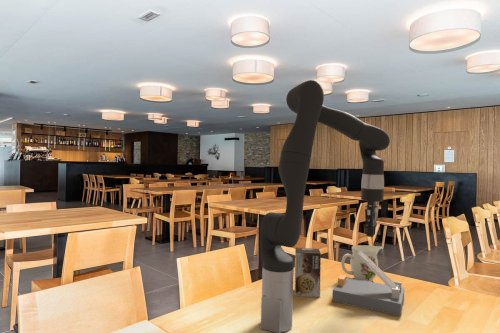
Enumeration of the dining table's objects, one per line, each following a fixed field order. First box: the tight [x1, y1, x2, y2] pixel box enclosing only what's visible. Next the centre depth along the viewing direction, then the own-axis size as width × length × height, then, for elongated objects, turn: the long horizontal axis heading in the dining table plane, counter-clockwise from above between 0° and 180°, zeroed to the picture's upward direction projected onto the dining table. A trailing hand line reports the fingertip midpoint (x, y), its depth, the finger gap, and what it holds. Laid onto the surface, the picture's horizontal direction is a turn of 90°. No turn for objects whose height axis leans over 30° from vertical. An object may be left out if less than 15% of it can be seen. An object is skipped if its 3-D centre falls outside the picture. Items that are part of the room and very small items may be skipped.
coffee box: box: [294, 247, 322, 298], centre depth 125 cm, size 9×6×16 cm
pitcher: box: [340, 244, 384, 282], centre depth 141 cm, size 11×18×14 cm, turn 99°
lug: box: [337, 274, 348, 286], centre depth 125 cm, size 5×2×2 cm, turn 152°
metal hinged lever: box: [357, 250, 400, 290], centre depth 119 cm, size 6×18×2 cm
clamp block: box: [331, 276, 405, 317], centre depth 121 cm, size 16×22×7 cm
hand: (370, 235), depth 120 cm, fingers open, 3 cm apart
